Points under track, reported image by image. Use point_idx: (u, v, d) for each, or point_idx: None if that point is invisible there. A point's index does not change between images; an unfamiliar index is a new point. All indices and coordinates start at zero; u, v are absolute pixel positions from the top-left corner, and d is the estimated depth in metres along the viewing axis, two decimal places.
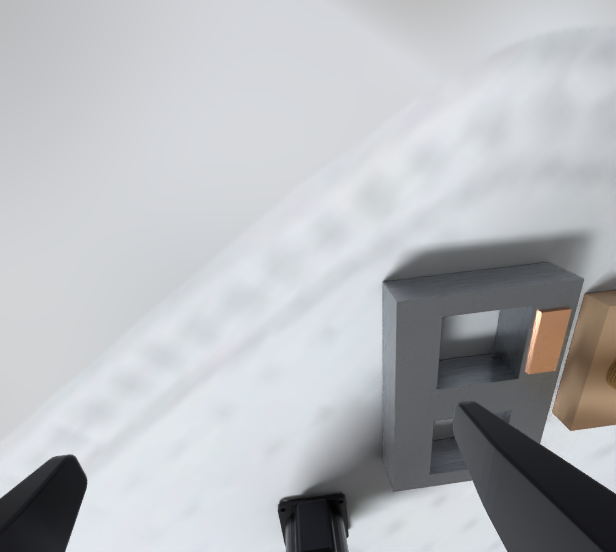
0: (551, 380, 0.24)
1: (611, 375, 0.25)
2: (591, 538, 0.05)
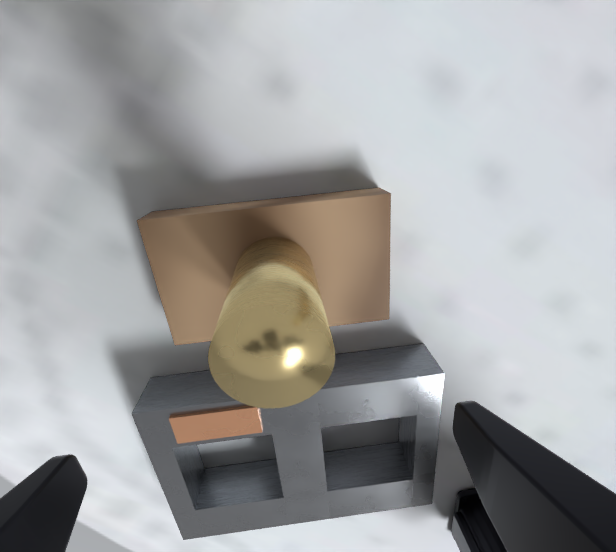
0: None
1: None
2: (591, 538, 0.05)
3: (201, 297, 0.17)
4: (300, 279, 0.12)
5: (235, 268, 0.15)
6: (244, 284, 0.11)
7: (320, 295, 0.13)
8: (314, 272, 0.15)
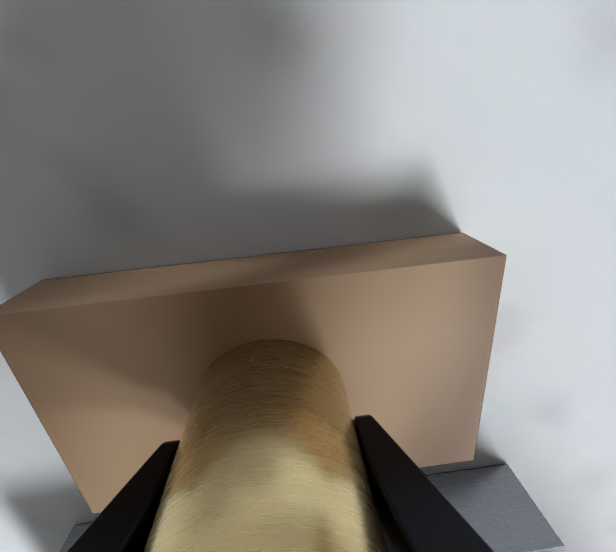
0: None
1: None
2: None
3: (133, 442, 0.09)
4: None
5: None
6: None
7: (386, 551, 0.05)
8: (353, 425, 0.07)
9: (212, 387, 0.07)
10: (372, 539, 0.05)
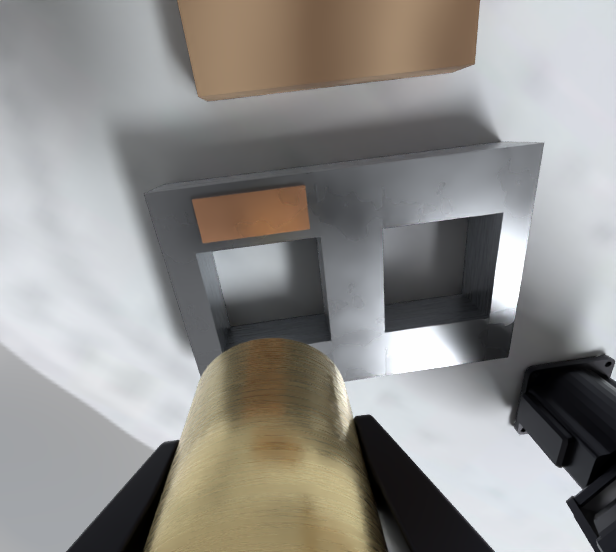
0: (328, 180, 0.15)
1: None
2: None
3: (233, 12, 0.13)
4: None
5: None
6: None
7: (387, 550, 0.05)
8: (354, 424, 0.07)
9: (212, 386, 0.07)
10: (372, 538, 0.05)
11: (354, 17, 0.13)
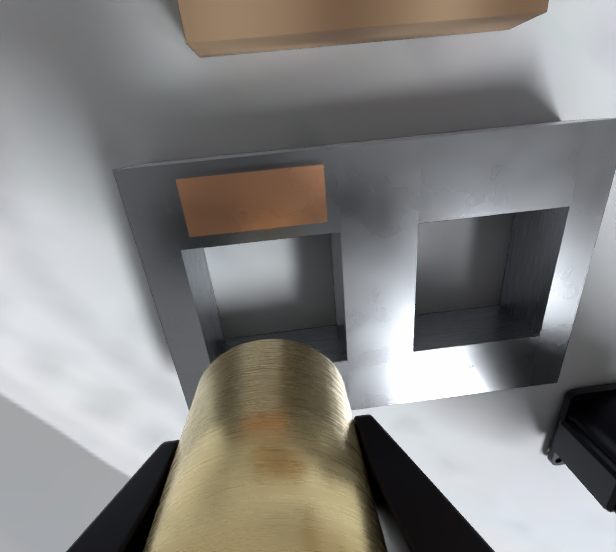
0: (353, 158, 0.11)
1: None
2: None
3: None
4: None
5: (188, 414, 0.07)
6: None
7: None
8: (354, 425, 0.07)
9: (212, 387, 0.07)
10: (372, 540, 0.05)
11: None
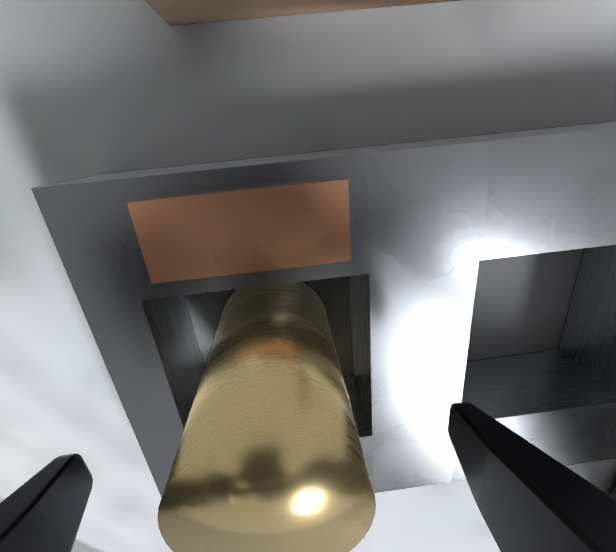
0: (391, 170, 0.08)
1: None
2: (583, 539, 0.04)
3: None
4: (313, 361, 0.08)
5: None
6: (225, 375, 0.07)
7: (342, 375, 0.09)
8: (329, 327, 0.11)
9: (236, 301, 0.11)
10: (332, 363, 0.08)
11: None
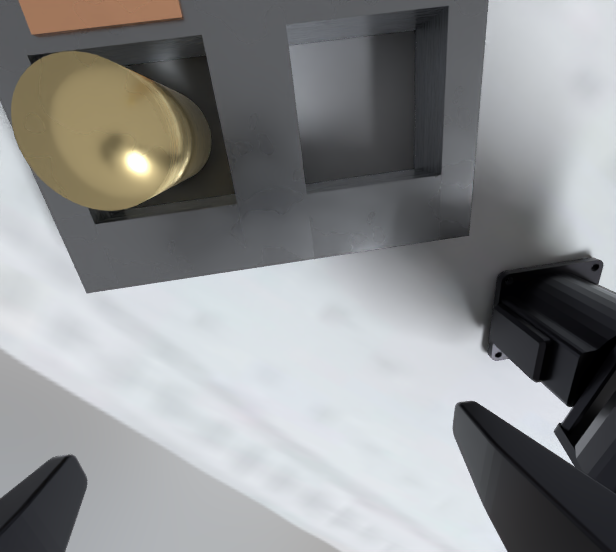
0: None
1: None
2: (591, 538, 0.05)
3: None
4: (148, 78, 0.10)
5: None
6: None
7: (185, 113, 0.12)
8: (198, 116, 0.14)
9: None
10: (174, 99, 0.11)
11: None
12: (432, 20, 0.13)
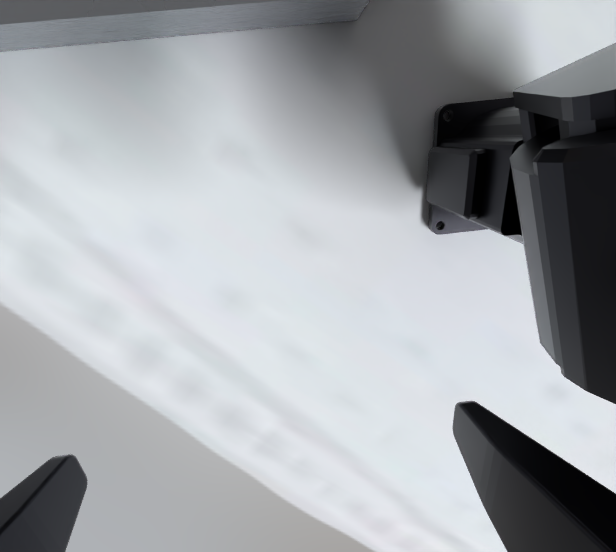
0: None
1: None
2: (591, 538, 0.05)
3: None
4: None
5: None
6: None
7: None
8: None
9: None
10: None
11: None
12: None
